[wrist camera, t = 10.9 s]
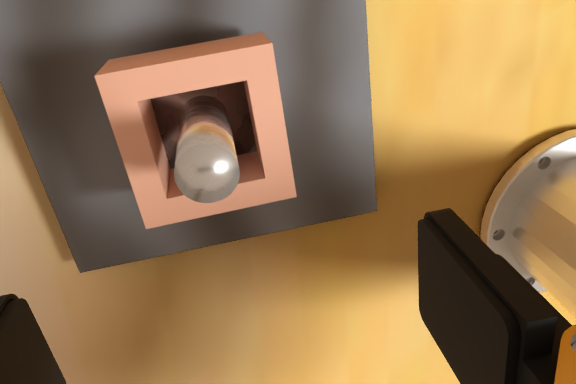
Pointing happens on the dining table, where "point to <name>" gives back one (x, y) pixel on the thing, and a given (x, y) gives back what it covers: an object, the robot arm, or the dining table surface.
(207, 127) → the metal post
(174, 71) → the square ring block
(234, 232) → the base plate
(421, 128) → the dining table surface
